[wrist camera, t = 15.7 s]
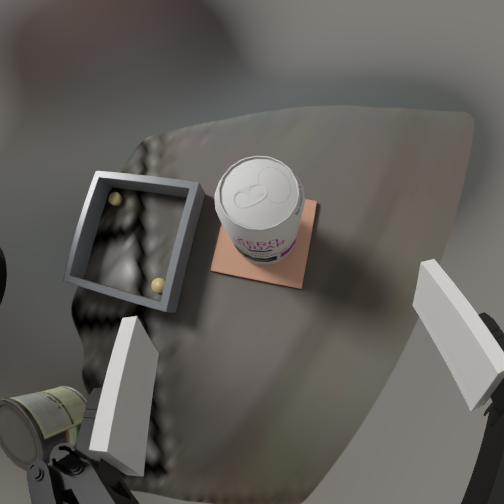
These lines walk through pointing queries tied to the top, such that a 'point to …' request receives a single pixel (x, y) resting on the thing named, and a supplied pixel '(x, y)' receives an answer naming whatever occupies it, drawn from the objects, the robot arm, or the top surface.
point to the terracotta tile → (278, 273)
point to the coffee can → (40, 423)
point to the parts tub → (98, 199)
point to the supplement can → (260, 208)
